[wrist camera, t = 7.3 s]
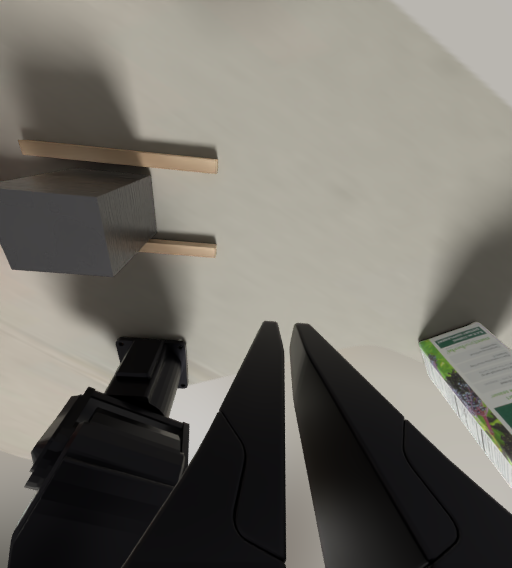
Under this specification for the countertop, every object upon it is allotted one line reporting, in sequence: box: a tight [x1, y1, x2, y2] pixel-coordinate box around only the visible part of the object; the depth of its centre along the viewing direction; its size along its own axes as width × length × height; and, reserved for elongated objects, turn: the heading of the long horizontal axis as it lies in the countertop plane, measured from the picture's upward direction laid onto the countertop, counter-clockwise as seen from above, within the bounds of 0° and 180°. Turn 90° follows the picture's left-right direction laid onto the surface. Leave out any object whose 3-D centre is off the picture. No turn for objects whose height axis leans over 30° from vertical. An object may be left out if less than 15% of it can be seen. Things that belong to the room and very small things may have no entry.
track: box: [18, 140, 218, 258], centre depth 18 cm, size 7×12×1 cm, turn 85°
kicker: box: [0, 168, 157, 277], centre depth 15 cm, size 8×13×7 cm, turn 85°
